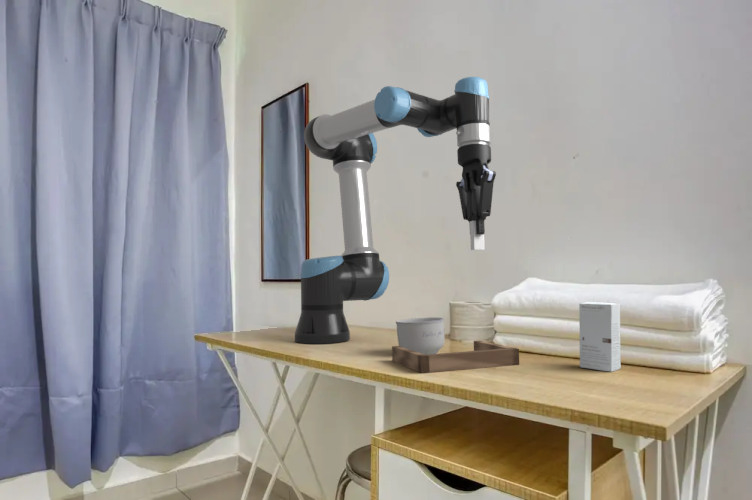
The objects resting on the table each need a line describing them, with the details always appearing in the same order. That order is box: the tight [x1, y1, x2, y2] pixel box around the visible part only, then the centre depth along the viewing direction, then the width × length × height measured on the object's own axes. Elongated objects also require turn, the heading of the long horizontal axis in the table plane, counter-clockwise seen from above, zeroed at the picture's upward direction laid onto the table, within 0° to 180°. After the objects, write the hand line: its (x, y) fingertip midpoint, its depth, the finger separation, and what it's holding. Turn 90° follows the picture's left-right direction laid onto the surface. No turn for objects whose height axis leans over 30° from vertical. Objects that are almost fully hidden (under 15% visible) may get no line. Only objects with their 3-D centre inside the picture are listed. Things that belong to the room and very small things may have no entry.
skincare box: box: [578, 301, 622, 372], centre depth 90 cm, size 6×4×12 cm
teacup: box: [395, 316, 445, 355], centre depth 111 cm, size 14×11×8 cm
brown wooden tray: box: [391, 340, 520, 374], centre depth 98 cm, size 14×21×3 cm, turn 111°
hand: (477, 249), depth 110 cm, fingers closed
